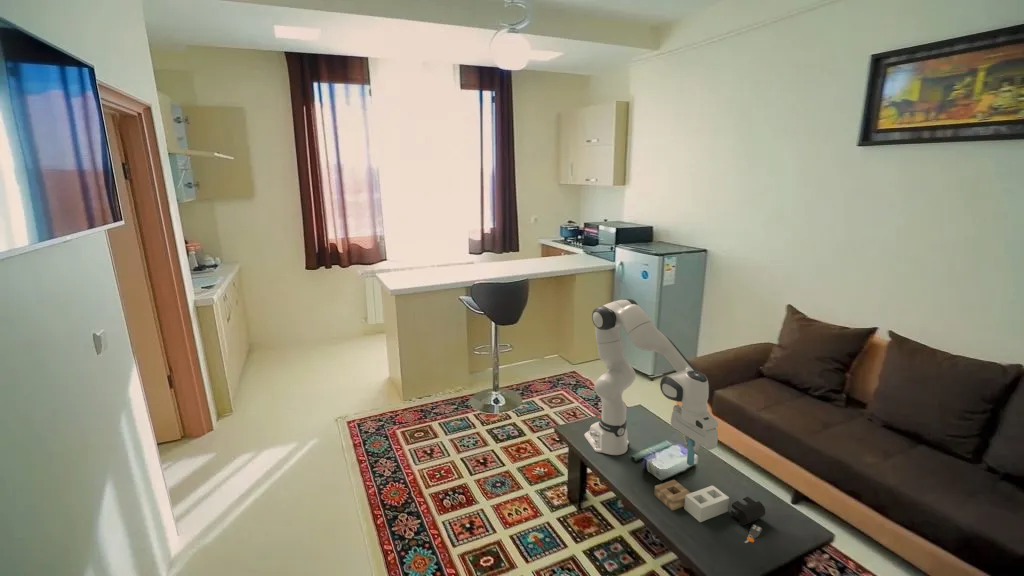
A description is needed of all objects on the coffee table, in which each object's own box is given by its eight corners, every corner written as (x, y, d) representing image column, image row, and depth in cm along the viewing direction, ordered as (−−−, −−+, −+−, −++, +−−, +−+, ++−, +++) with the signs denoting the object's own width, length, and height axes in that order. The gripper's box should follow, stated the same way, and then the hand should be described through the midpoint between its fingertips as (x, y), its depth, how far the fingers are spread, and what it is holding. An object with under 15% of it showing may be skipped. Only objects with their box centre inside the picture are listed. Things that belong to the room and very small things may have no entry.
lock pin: (685, 462, 177) (687, 439, 175) (690, 461, 178) (692, 437, 176) (690, 466, 175) (691, 442, 172) (695, 464, 176) (697, 440, 173)
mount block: (654, 494, 185) (654, 486, 184) (673, 488, 189) (674, 479, 188) (672, 510, 176) (672, 501, 175) (691, 503, 180) (692, 494, 179)
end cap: (745, 530, 166) (748, 514, 165) (729, 517, 172) (731, 502, 171) (764, 521, 170) (766, 505, 169) (747, 509, 177) (749, 494, 175)
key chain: (751, 525, 169) (752, 522, 169) (762, 530, 167) (763, 527, 166) (740, 545, 160) (740, 542, 159) (751, 551, 157) (752, 547, 157)
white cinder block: (684, 508, 177) (685, 495, 176) (711, 498, 183) (712, 485, 181) (700, 522, 170) (701, 508, 169) (727, 511, 176) (729, 497, 174)
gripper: (667, 404, 180) (665, 436, 183) (708, 428, 161) (705, 464, 164) (680, 401, 182) (678, 432, 185) (721, 424, 164) (718, 459, 167)
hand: (691, 447), depth 175 cm, fingers closed on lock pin, 2 cm apart
